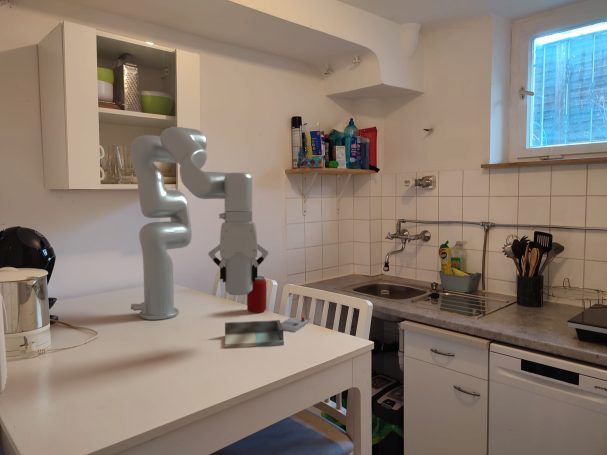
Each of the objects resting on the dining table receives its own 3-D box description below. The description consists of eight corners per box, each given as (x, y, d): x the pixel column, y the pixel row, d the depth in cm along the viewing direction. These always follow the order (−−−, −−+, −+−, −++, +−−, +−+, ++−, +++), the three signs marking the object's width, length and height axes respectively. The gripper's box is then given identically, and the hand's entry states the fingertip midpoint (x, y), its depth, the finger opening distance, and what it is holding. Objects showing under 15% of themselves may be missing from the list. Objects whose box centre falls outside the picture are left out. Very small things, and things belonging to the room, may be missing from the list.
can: (230, 297, 119) (229, 252, 118) (221, 291, 126) (221, 249, 125) (256, 294, 123) (256, 251, 122) (246, 288, 129) (246, 247, 128)
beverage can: (267, 308, 160) (267, 275, 159) (264, 313, 153) (264, 279, 152) (249, 308, 161) (249, 275, 160) (245, 313, 154) (245, 279, 153)
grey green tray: (225, 347, 120) (225, 333, 120) (225, 335, 130) (225, 322, 130) (283, 344, 123) (283, 330, 123) (279, 333, 133) (279, 320, 133)
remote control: (272, 333, 135) (272, 323, 135) (295, 319, 149) (295, 310, 149) (292, 336, 132) (292, 326, 132) (313, 322, 146) (313, 313, 146)
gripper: (205, 218, 117) (206, 284, 119) (271, 218, 120) (271, 282, 122) (206, 217, 125) (207, 279, 126) (268, 216, 128) (268, 277, 129)
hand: (238, 280), depth 124 cm, fingers closed on can, 7 cm apart
